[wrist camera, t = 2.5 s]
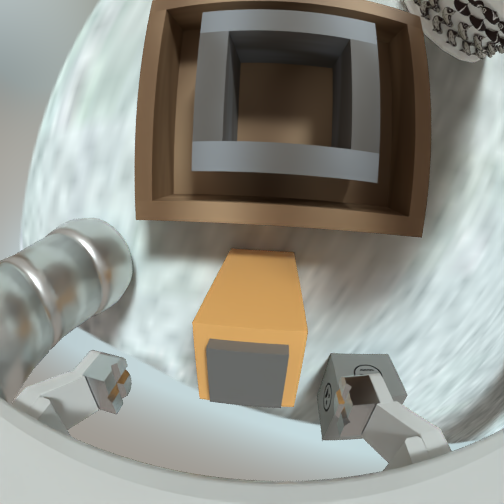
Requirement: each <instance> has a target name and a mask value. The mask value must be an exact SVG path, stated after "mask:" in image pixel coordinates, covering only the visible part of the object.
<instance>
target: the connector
mask: <svg viewBox="0 0 504 504" xmlns="http://www.w3.org/2000/svg"><path fill="white" fill-rule="evenodd" d="M192 324H193V337H194V348H195V359H196V369H197V378H198V387H199V396H200V399H207V400H210V401H211V402H218V403H226V404H235V405H245V406H258V407H274V408H281V406H282V407H294V403H295V398H296V393H297V389H298V384H299V378H300V373H301V368H302V363H303V357H304V352H305V346H306V340H307V334H308V329H307V323H306V317H305V311H304V305H303V299H302V293H301V288H300V282H299V277H298V271H297V266H296V261H295V255H294V252H283V251H266V250H250V249H233V248H231V250H230V251H229V253H228V255H227V257H226V259H225V261H224V263H223V265H222V267H221V268H220V270H219V272H218V274H217V276H216V278H215V280H214V282H213V284H212V286H211V288H210V289H209V291H208V293H207V295H206V297H205V299H204V301H203V303H202V305H201V307H200V309H199V311H198V313H197V315H196V316H195V318H194V320H193V322H192Z"/></svg>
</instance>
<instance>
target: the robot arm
mask: <svg viewBox="0 0 504 504" xmlns="http://www.w3.org/2000/svg"><path fill="white" fill-rule="evenodd" d="M126 367H127V362H126V359H124V358H122V357H119V356H115V355H110V354H107V353H102V352H99V351H95V350H91V351H89V353H88V354H87V355H86V356H85V357H84V358H83V360H82V361H81V362H80V363H79V364H78V365H77V367H76V368H75V369H74V370H73V371H72V372H70V371H68V372H66V373H63V374H60V375H58V376H55V377H53V378H50V379H48V380H45V381H42V382H39V383H37V384H34V385H31V386H29V387H26V388H25V389H24V390H23V391H22V392H21V394H20V395H19V396H18V397H17V398H16V399H15V400H14V401H13V403H12V404H10V403H8V402H7V401H5V400H4V399H2V398H1V397H0V504H504V429H502V430H500V431H498V432H496V433H494V434H492V435H490V436H488V437H486V438H483V439H481V440H479V441H477V442H474V443H472V444H470V445H467V446H465V447H462V448H460V449H457V450H455V451H451V449H450V447H449V445H448V443H447V441H446V439H445V437H444V435H443V433H442V431H441V429H440V428H438V427H437V426H435V425H433V424H432V423H430V422H429V421H427V420H425V419H424V418H422V417H421V416H419V415H418V414H416V413H414V412H413V411H411V410H410V409H408V408H407V407H405V406H404V405H402V404H400V403H399V402H397V401H395V402H394V401H393V399H392V397H391V395H390V393H389V391H388V388H387V386H386V384H385V382H384V380H383V378H382V376H381V374H379V373H377V374H367V375H354V376H342V377H341V378H340V381H339V387H340V389H339V390H338V391H337V392H336V394H335V398H334V412H335V415H336V416H337V417H338V418H339V419H338V422H337V427H338V431H339V436H340V437H344V436H357V435H361V437H362V438H363V439H364V440H365V441H366V442H367V443H368V444H370V446H371V447H373V448H374V449H375V450H376V451H377V452H378V453H379V454H380V455H381V456H382V457H383V458H384V459H385V460H386V461H387V462H388V463H389V464H388V465H387V466H386V468H385V469H384V470H383V471H381V472H376V473H370V474H364V475H358V476H351V477H344V478H334V479H324V480H308V481H255V480H240V479H228V478H219V477H211V476H205V475H198V474H192V473H187V472H181V471H176V470H171V469H167V468H162V467H158V466H154V465H150V464H147V463H143V462H139V461H136V460H133V459H129V458H126V457H123V456H120V455H116V454H114V453H111V452H108V451H105V450H102V449H99V448H97V447H94V446H92V445H89V444H87V443H85V442H82V441H80V440H77V439H75V438H73V437H71V435H70V434H69V432H68V431H67V430H68V429H70V428H71V427H73V426H75V425H76V424H78V423H79V422H81V421H83V420H84V419H86V418H87V417H89V416H91V415H92V414H94V413H95V412H97V411H98V410H99V409H100V410H104V411H107V412H111V413H114V414H117V413H118V412H119V410H120V408H121V406H122V404H123V400H122V398H124V397H126V396H127V395H128V394H129V392H130V389H131V376H130V374H129V373H128V371H127V370H126Z"/></svg>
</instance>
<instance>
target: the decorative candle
mask: <svg viewBox="0 0 504 504" xmlns="http://www.w3.org/2000/svg"><path fill="white" fill-rule="evenodd" d="M404 2H405V4H406V6H407V9H408V11H409V13H411V14H414V15H417V16H420V19H421V24H422V29H423V32H424V34H425V35H426V36H427V37H428V38H429V39H430V40H432V41H433V42H434V43H435V44H436V45H437V46H438V47H440V48H441V49H442V50H443V51H445V52H446V53H448V54H450V55H452V56H453V57H455V58H457V59H459V60H462V61H467V62H472V63H474V62H477V61H479V60H481V59H483V58H485V56H486V55H487V56H488V57H490V58H491V57H492V55H494V54H495V52H497V51H498V52H499V53H501V54H502V53H504V0H404ZM498 44H501V45H499V46H498Z"/></svg>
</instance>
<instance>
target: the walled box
mask: <svg viewBox="0 0 504 504" xmlns="http://www.w3.org/2000/svg"><path fill="white" fill-rule="evenodd" d="M430 158H431V99H430V83H429V72H428V62H427V54H426V47H425V41H424V35H423V29H422V24H421V19H420V16H417V15H414V14H411V13H408V12H405V11H402V10H399V9H396V8H393V7H389V6H386V5H382V4H378V3H374V2H370V1H366V0H153V1H152V5H151V10H150V15H149V20H148V25H147V31H146V36H145V42H144V49H143V56H142V63H141V71H140V80H139V90H138V101H137V115H136V133H135V210H136V220H161V221H190V222H214V223H235V224H254V225H272V226H288V227H303V228H317V229H331V230H344V231H356V232H368V233H380V234H391V235H401V236H412V237H422V233H423V226H424V220H425V212H426V205H427V196H428V186H429V174H430Z"/></svg>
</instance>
